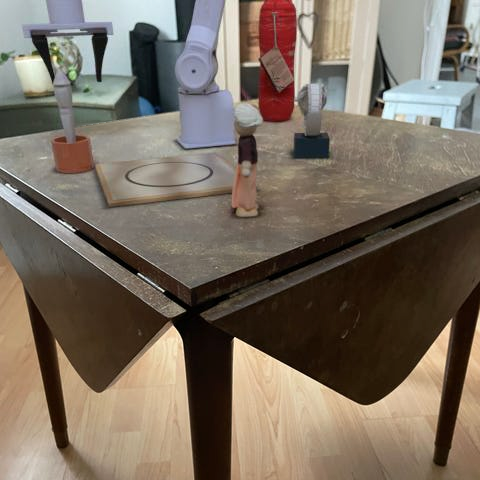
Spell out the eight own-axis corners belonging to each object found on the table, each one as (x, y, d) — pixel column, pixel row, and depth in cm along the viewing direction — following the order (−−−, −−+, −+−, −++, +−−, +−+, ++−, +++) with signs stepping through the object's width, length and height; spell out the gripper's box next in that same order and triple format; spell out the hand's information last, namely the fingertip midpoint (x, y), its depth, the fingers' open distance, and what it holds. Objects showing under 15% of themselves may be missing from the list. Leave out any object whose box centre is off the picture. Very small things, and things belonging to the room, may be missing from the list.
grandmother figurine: (229, 202, 70) (226, 98, 64) (258, 201, 70) (259, 97, 64) (233, 224, 64) (231, 110, 57) (266, 222, 64) (267, 109, 57)
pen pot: (92, 161, 89) (88, 133, 87) (95, 171, 84) (91, 141, 82) (55, 165, 87) (50, 136, 85) (57, 174, 83) (51, 144, 80)
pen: (86, 162, 87) (70, 66, 79) (80, 166, 84) (63, 68, 77) (71, 161, 87) (54, 66, 80) (64, 166, 85) (47, 68, 77)
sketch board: (216, 156, 91) (216, 151, 90) (255, 190, 75) (255, 184, 74) (95, 167, 86) (94, 163, 85) (109, 207, 69) (108, 201, 69)
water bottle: (290, 127, 110) (294, -18, 97) (251, 125, 111) (251, -17, 98) (297, 115, 120) (302, -17, 107) (262, 114, 121) (262, -16, 109)
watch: (324, 148, 94) (329, 80, 88) (329, 160, 87) (334, 87, 81) (292, 148, 94) (294, 80, 89) (294, 160, 87) (297, 87, 82)
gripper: (105, -8, 93) (115, 77, 100) (16, -7, 90) (34, 82, 97) (109, -9, 87) (120, 82, 94) (15, -7, 84) (33, 87, 91)
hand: (77, 82), depth 95 cm, fingers open, 7 cm apart
